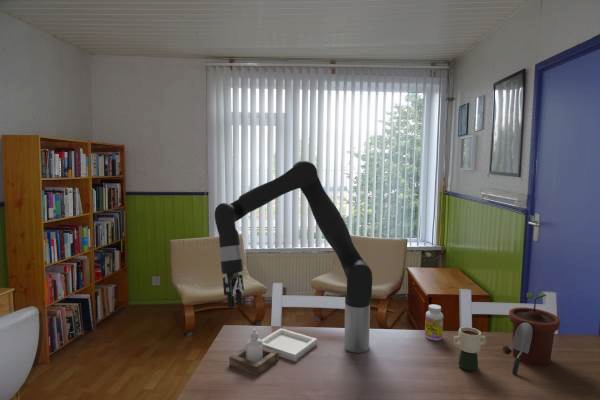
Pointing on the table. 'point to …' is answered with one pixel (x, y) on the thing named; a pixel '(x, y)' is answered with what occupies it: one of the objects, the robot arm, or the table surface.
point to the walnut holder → (251, 367)
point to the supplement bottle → (434, 323)
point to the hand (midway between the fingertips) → (235, 306)
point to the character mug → (469, 347)
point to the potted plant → (532, 335)
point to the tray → (289, 344)
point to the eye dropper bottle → (254, 348)
